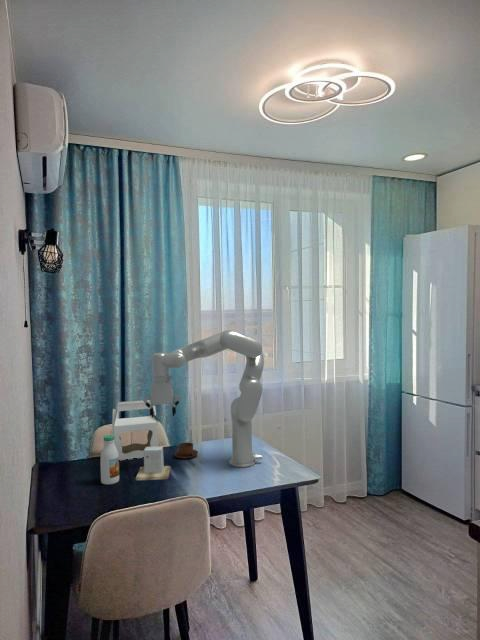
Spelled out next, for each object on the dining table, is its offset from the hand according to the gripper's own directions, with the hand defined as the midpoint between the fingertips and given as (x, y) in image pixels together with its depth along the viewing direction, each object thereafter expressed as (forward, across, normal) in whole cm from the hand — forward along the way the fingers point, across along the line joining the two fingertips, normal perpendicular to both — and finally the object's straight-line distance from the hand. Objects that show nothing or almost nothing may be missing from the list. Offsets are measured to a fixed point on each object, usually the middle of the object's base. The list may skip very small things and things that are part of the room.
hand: (163, 416), depth 215 cm
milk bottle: (+25, +23, +12) cm, 36 cm away
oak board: (+25, +5, +5) cm, 26 cm away
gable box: (+25, +17, -26) cm, 40 cm away
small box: (+24, +5, +5) cm, 25 cm away
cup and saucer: (+26, -9, -19) cm, 33 cm away
